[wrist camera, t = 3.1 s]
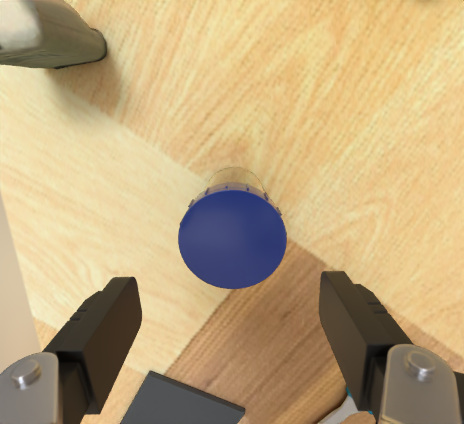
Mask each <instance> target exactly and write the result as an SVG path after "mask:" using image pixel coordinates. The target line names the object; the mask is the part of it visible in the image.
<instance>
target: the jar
mask: <svg viewBox="0 0 464 424" xmlns="http://www.w3.org/2000/svg"><path fill="white" fill-rule="evenodd" d="M226 181H228V182H238V183H244V184H247V183H249V185H251V186H253V187H255V188H257V189H259V190H261V191H262V192H264V190H263V187H262V185H261V183H260V181H259V180H258V178H257V177H256V176H255V175H254V174H253V173H251V172H250V171H248V170H246V169H243V168H238V167H231V168H225V169H223V170H220V171H219V172H217V173H216V174H214V175H213V176H212V177H211V179H210V180H209V182H208V183H207V185H206V187H205V189H204V191H205V190H206V188H207V187H209V188H210V187H212V186H215V185H217V184H221V183H226Z"/></svg>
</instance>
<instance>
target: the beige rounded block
mask: <svg viewBox="0 0 464 424" xmlns="http://www.w3.org/2000/svg"><path fill="white" fill-rule="evenodd" d="M105 56H106V43H105V40H104V38H103V36H102V34H101V32H100V31H98V30H96V29H91V28H90V27H89V26H88V25H87V24H86V23H85V22H84V21H83V19H82V18H81V17H80V15H79V14H78V13H77V12H76V11H75V10H74V9H73V8H72V7H71V6H70V5H69V4H68V3H67V2H65V1H64V0H0V64H1V65H12V66H22V67H29V68H54V69H60V68H64V67H68V66H74V65H80V64H86V63H91V62H96V61H100V60H102V59H103V58H104V57H105Z"/></svg>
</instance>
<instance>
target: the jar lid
mask: <svg viewBox="0 0 464 424" xmlns="http://www.w3.org/2000/svg"><path fill="white" fill-rule="evenodd" d="M188 207H189V208H188V210H187V212H186V214H185V216H184V217H183V219H182V221H181V223H180V228H179V235H178V244H179V249H180V253H181V256H182V258H183V260H184V262H185V264H186V265H187V267H188V268H189V269H190V270H191V271H192V273H194V274H195V275H196V276H197V277H198V278H200V279H201V280H203V281H204V282H206V283H208V284H211V285H213V286H216V287H220V288H226V289H240V288H246V287H249V286H253V285H255V284H257V283H260V282H261V281H263V280H264V279H266V278H267V277H268V276H270V275H271V274H272V273H273V272H274V271H275V270H276V268H277V267H278V266H279V264H280V262H281V261H282V258H283V256H284V253H285V249H286V242H287V237H286V235H287V233H286V230H285V226H284V223H283V220H282V218H281V213H280V210H279V208H278V207H276V206H275V204H274V203H273V201H272V200H271V199H270V198H269V197H268V196H267V193H266V192H265V193H264V192H262V191H261V190H259V189H257V188H255V187H253V186H251V185H249V183H247V184H244V183H238V182H228V181H226V183H221V184H217V185H215V186H212V187H210V188H209V187H207V188H206V190H205V191H203V192H202V193H200V194H199V195H198V196H197V197H196V198H195V199H194V200H192V201H191V203H190V205H189V206H188Z"/></svg>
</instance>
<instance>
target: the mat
mask: <svg viewBox="0 0 464 424" xmlns="http://www.w3.org/2000/svg"><path fill="white" fill-rule="evenodd" d="M244 414H245V408H242V407H240V406H237V405H235V404H232V403H230V402H227V401H225V400H222V399H220V398H217V397H215V396H212V395H210V394H207V393H205V392H202V391H200V390H197V389H195V388H192V387H190V386H187V385H185V384H182V383H180V382H177V381H175V380H172V379H170V378H167V377H165V376H162V375H160V374H157V373H155V372H152V371H149V373H148V375H147V376H146V378H145V380H144V382H143V384H142V385H141V387H140V389H139V391H138V392H137V394H136V396H135V398H134V400H133V401H132V403H131V405H130V407H129V409H128V410H127V412H126V414H125V416H124V417H123V419H122V421H121V423H120V424H237V423H238V422H239V421H240V419H241V418H242V417H243V415H244Z"/></svg>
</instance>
